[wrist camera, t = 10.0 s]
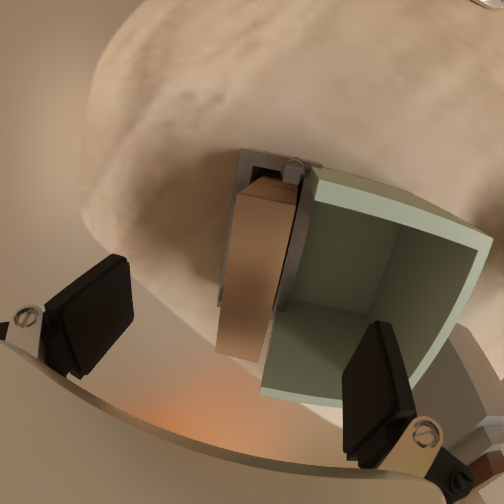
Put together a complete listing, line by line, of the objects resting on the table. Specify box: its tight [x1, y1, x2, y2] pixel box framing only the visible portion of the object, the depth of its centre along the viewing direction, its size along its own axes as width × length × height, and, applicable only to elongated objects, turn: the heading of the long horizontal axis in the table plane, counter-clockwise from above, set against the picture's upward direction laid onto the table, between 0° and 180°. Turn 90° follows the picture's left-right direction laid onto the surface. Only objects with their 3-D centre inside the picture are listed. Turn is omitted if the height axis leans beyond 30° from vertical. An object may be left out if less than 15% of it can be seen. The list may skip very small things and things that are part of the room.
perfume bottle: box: [411, 323, 504, 491], centre depth 15 cm, size 7×7×18 cm
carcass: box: [259, 167, 493, 408], centre depth 16 cm, size 12×9×11 cm
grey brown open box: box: [217, 149, 323, 320], centre depth 17 cm, size 13×6×11 cm, turn 170°
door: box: [215, 173, 298, 363], centre depth 17 cm, size 9×3×10 cm, turn 171°
